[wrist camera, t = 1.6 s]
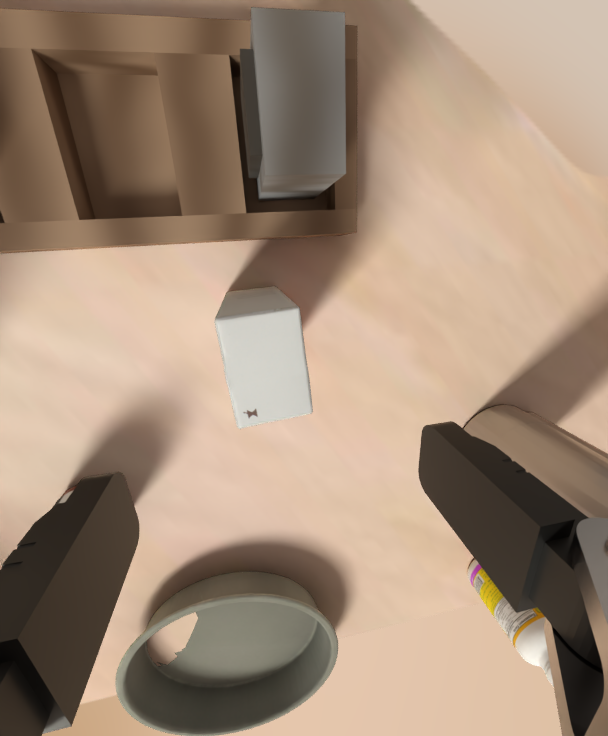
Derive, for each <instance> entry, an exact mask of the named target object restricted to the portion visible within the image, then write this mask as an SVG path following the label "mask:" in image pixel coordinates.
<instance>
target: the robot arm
mask: <svg viewBox="0 0 608 736" xmlns="http://www.w3.org/2000/svg"><path fill="white" fill-rule="evenodd" d="M419 479H420V482H421V485H422V487H423V490H424V491H425V493H426V494H427V496H428V497H429V498H430V500H431V501H432V502H433V504H434V505H435V506H436V508H437V509H438V510H439V512H440V513H441V514H442V515H443V517H444V518H445V519H446V521H447V522H448V523H449V525H450V526H451V527H452V529H453V530H454V531H455V533H456V534H457V535H458V537H459V538H460V539H461V541H462V542H463V543H464V545H465V546H466V547H467V549H468V550H469V551H470V553H471V554H472V555H473V556H474V558H475V559H476V560H477V562H478V563H479V564H480V566H481V567H482V568H483V570H484V571H485V572H486V574H487V575H488V576H489V578H490V579H491V580H492V582H493V583H494V584H495V586H496V587H497V588H498V590H499V591H500V592H501V594H502V595H503V596H504V598H505V599H506V600H507V601H508V603H509V604H510V605H511V607H512V608H513V609H514V611H515V612H516V613H518V612H522V611H526V610H529V609H533V608H538V609H539V610H540V611H541V613H542V614H543V615H544V616H545V617H546V619H545V623H544V633H545V639H546V645H547V651H548V656H549V662H550V668H551V674H552V679H553V685H554V690H555V696H556V701H557V708H558V714H559V719H560V725H561V730H562V736H608V454H607V453H606V452H604V451H602V450H600V449H598V448H596V447H595V446H593V445H591V444H589V443H587V442H586V441H584V440H582V439H580V438H578V437H577V436H575V435H573V434H571V433H569V432H567V431H566V430H564V429H562V428H560V427H558V426H557V425H555V424H553V423H551V422H549V421H548V420H546V419H544V418H542V417H540V416H539V415H537V414H535V413H533V412H528V413H526V412H524V411H523V410H521V409H519V408H517V407H515V406H512V405H498V406H494V407H491V408H488V409H486V410H484V411H482V412H480V413H479V414H478V415H476V416H475V417H474V418H472V419H471V421H470V422H469V423H468V424H467V425H466V426H465V428H464V429H462V428H461V427H460V426H459V425H457V424H456V423H454V422H445V423H438V424H432V425H426V426H425V427H424V428H423V430H422V437H421V448H420V459H419ZM138 539H139V520H138V516H137V513H136V510H135V507H134V504H133V501H132V498H131V495H130V492H129V489H128V486H127V482H126V479H125V477H124V475H123V474H122V473H121V472H115V473H109V474H102V475H96V476H89V477H85V478H83V479H82V480H81V481H80V482H79V483H78V485H77V486H76V488H75V489H74V490H73V492H72V493H71V495H70V496H69V497H68V499H67V500H66V502H64V503H58V504H57V505H56V506H55V507H53V508H52V509H51V510H50V511H49V512H47V513H46V514H45V515H44V516H43V517H41V518H40V519H39V520H38V521H36V522H35V523H34V524H33V526H32V527H31V528H30V530H29V531H28V532H27V533H26V535H25V536H24V537H23V539H22V540H21V541H20V543H19V544H18V545H17V546H18V547H17V550H13V552H12V553H11V554H10V555H9V557H8V558H7V559H6V561H5V562H4V563H3V565H2V569H1V570H0V736H42V734H44V733H48V732H51V731H55V730H59V729H63V728H67V727H71V726H72V723H73V720H74V718H75V715H76V712H77V710H78V707H79V704H80V701H81V699H82V696H83V693H84V690H85V688H86V685H87V682H88V679H89V677H90V674H91V671H92V668H93V666H94V663H95V660H96V657H97V655H98V652H99V649H100V646H101V644H102V641H103V638H104V635H105V633H106V630H107V627H108V624H109V622H110V619H111V616H112V613H113V611H114V608H115V605H116V602H117V600H118V597H119V594H120V591H121V589H122V586H123V583H124V580H125V578H126V575H127V572H128V569H129V567H130V564H131V561H132V558H133V556H134V553H135V550H136V547H137V544H138Z"/></svg>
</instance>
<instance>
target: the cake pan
mask: <svg viewBox="0 0 608 736" xmlns="http://www.w3.org/2000/svg"><path fill="white" fill-rule="evenodd" d="M194 612H196V614H197V616H198V620H197V623H196V625H195V628H194V630H193V632H192V634H191V637H190V639H189V641H188V643H187V645H186V647H185V648H184V649H182V651H181V652H177V653H175V654H176V655H177V656H178V657H177V658H176V659H174V660H173V661H172V662H171V663H169V664H168V665H166V664H162V663H159V664H160V665H162V666H157V665H156V664H155V663H154V662H153V661H152V659H151V657H150V656H149V654H148V650H147V639H149V638H150V637H151V636H152V635H153V634H155V633H156V632H157V631H159V630H160V629H162V628H163V627H165V626H166V625H168V624H170V623H171V622H173V621H175V620H177V619H179V618H181V617H183V616H186V615H188V614H191V613H194ZM337 654H338V640H337V636H336V633H335V630H334V628H333V627H332V625H331V623H330V622H329V621H328V619H327V618H326V617H325V616H324V615H323V614H322V613H321V612H320V611H318V609H317V606H316V604H315V602H314V600H313V598H312V596H311V595H310V594H309V592H308V591H307V590H306V589H305V588H303V587H302V586H301V585H299V584H298V583H296V582H294V581H293V580H291V579H288V578H286V577H283V576H280V575H276V574H272V573H266V572H254V571H247V572H234V573H227V574H222V575H218V576H214V577H210V578H207V579H204V580H202V581H199V582H197V583H194V584H192V585H190V586H188V587H186V588H184V589H182V590H181V591H179V592H178V593H176V594H175V595H173V596H172V597H171V598H169V599H168V600H167V601H166V602H165V603H164V604H163V605H161V607H160V608H159V609H158V610H157V611H156V612H155V614H154V615H153V617H152V618H151V620H150V622H149V624H148V626H147V628H146V630H145V632H144V633H142V634H141V635H140V636H139V637H138V638H137V639H136V640H135V641H134V643H133V644H132V645H131V646H130V647H129V649H128V650H127V652H126V653H125V655H124V656H123V658H122V660H121V662H120V664H119V667H118V670H117V673H116V691H117V695H118V698H119V700H120V703H121V704H122V706H123V708H124V709H125V710H126V711H127V712H128V713H129V714H130V715H131V716H132V717H133V718H134V719H136V720H137V721H139V722H140V723H142V724H144V725H145V726H148V727H150V728H153V729H155V730H158V731H162V732H165V733H170V734H175V735H184V736H215V735H224V734H229V733H234V732H239V731H243V730H247V729H251V728H254V727H257V726H260V725H263V724H265V723H268V722H270V721H273V720H275V719H277V718H279V717H281V716H283V715H285V714H287V713H289V712H290V711H292V710H293V709H295V708H297V707H298V706H299V705H301V704H302V703H304V702H305V701H306V700H308V699H309V698H310V697H311V696H312V695H313V694H314V693H315V692H316V691H317V690H318V689H319V688H320V687H321V686H322V685H323V684H324V682H325V681H326V680H327V678H328V677H329V675H330V674H331V672H332V670H333V667H334V665H335V662H336V658H337ZM157 663H158V662H157Z"/></svg>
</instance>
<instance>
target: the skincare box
mask: <svg viewBox="0 0 608 736" xmlns="http://www.w3.org/2000/svg"><path fill="white" fill-rule="evenodd" d="M215 327H216V331H217V336H218V341H219V345H220V350H221V355H222V359H223V364H224V372H225V378H226V382H227V385H228V389H229V394H230V398H231V402H232V407H233V411H234V416H235V420H236V424H237V427H238V428H239V429H241V428H246V427H250V426H255V425H259V424H264V423H268V422H273V421H279V420H284V419H289V418H294V417H298V416H303V415H307V414H312V412H313V409H312V399H311V389H310V380H309V373H308V367H307V361H306V354H305V346H304V338H303V331H302V323H301V316H300V308H299V307H298V306H297V305H296V304H295V303H294V302H293V301H292V300H290V299H289V298H288V297H287V296H286V295H285V294H284V293H283V292H281V291H280V290H279V289H278V288H277V287H276V286H271V287H263V288H255V289H247V290H239V291H231V292H227V293H226V295H225V297H224V300H223V302H222V304H221V307H220V309H219V311H218V313H217V316H216V318H215Z"/></svg>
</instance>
